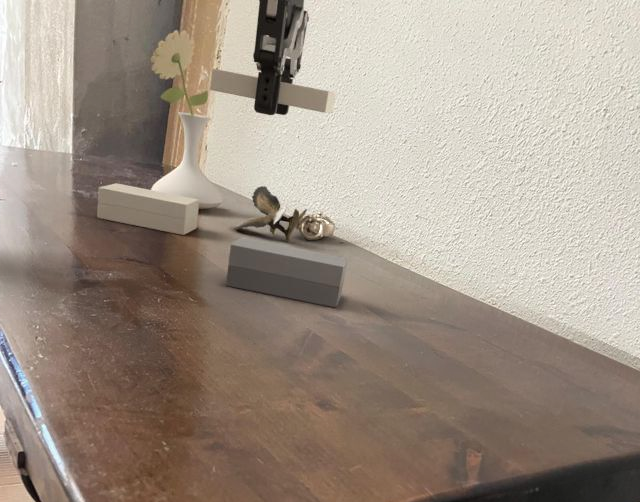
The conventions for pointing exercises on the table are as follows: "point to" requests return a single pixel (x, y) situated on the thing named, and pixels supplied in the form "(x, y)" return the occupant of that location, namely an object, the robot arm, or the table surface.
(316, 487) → the table surface
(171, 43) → the flower in vase
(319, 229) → the ornament
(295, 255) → the grey books
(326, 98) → the white book
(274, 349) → the table surface
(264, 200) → the eagle figurine
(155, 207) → the white books
